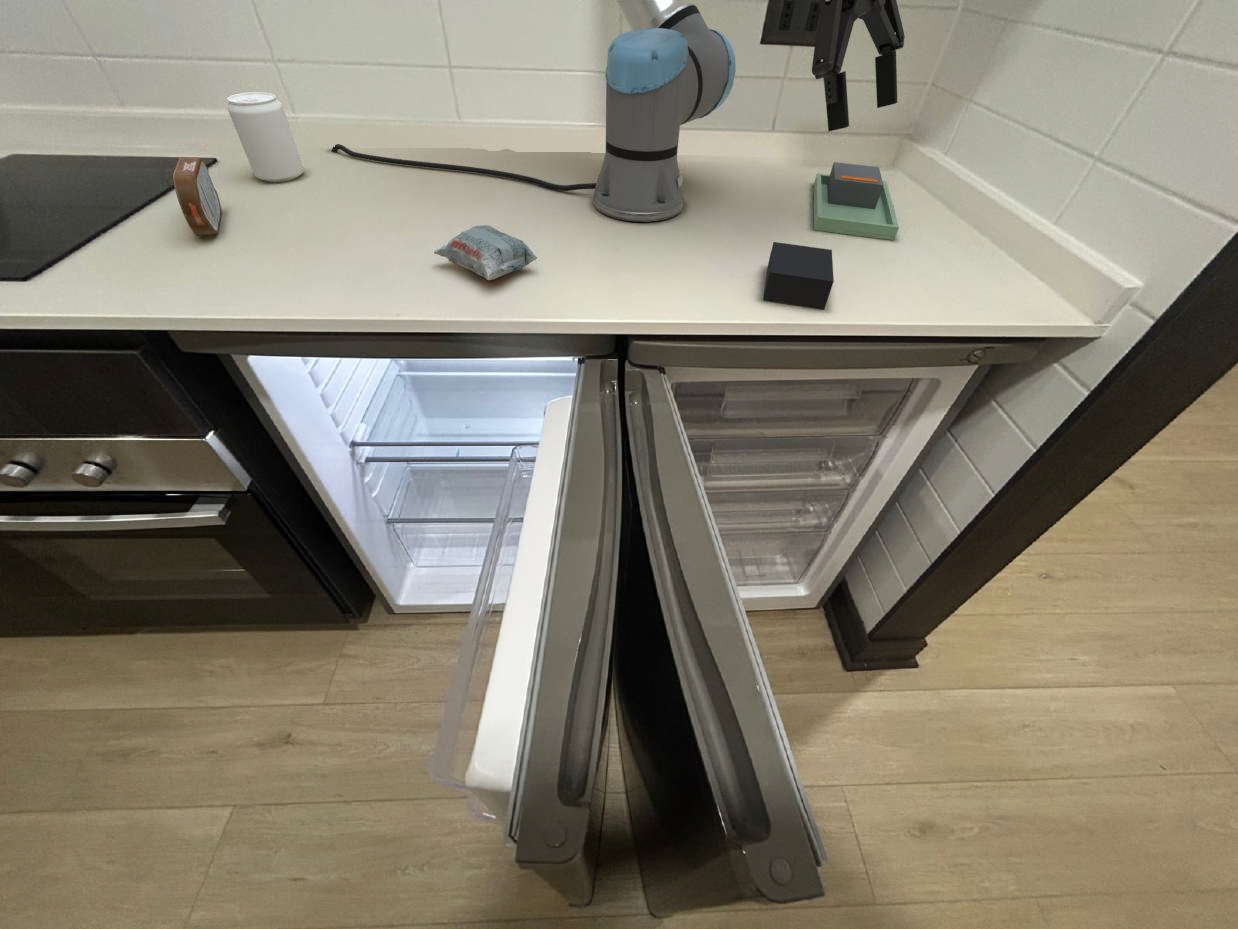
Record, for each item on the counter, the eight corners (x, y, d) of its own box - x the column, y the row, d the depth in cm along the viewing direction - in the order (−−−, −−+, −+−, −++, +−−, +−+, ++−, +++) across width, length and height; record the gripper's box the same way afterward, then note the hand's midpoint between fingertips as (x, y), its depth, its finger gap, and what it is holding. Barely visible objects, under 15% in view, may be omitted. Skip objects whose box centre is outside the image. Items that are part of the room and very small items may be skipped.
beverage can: (315, 174, 100) (289, 96, 91) (274, 187, 95) (242, 106, 86) (287, 164, 103) (259, 88, 94) (246, 176, 98) (212, 97, 89)
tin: (205, 207, 88) (177, 149, 82) (227, 204, 89) (201, 147, 83) (197, 246, 79) (164, 183, 73) (222, 243, 80) (191, 181, 74)
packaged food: (491, 294, 72) (486, 258, 68) (435, 265, 77) (428, 229, 74) (539, 273, 77) (537, 238, 73) (484, 246, 82) (480, 212, 78)
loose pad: (762, 300, 73) (769, 272, 71) (766, 268, 80) (773, 241, 77) (824, 309, 72) (833, 281, 69) (823, 276, 79) (832, 249, 76)
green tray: (893, 240, 88) (899, 227, 87) (813, 229, 90) (817, 216, 89) (882, 193, 103) (886, 181, 102) (813, 184, 105) (816, 172, 103)
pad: (828, 203, 97) (835, 178, 94) (827, 184, 104) (834, 160, 101) (875, 209, 96) (884, 183, 93) (871, 190, 102) (879, 165, 99)
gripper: (826, -80, 61) (841, 134, 72) (930, -98, 72) (930, 90, 83) (769, -50, 67) (792, 144, 77) (874, -71, 78) (881, 102, 88)
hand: (863, 116), depth 80 cm, fingers open, 13 cm apart
